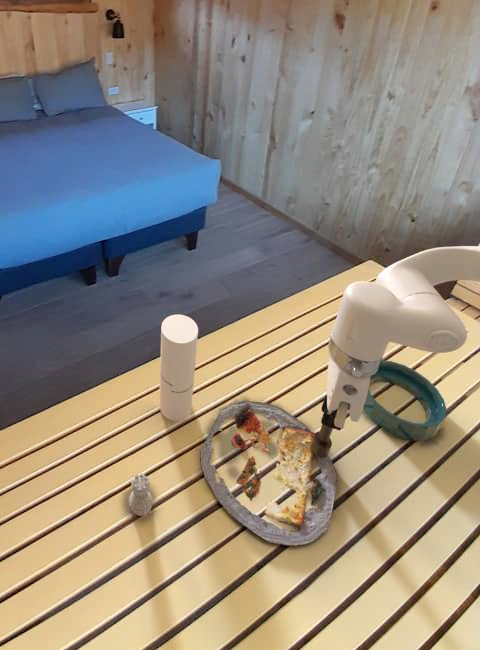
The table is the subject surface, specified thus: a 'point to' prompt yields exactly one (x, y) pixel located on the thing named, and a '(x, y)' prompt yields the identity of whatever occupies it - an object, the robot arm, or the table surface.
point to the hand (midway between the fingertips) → (330, 419)
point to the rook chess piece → (140, 495)
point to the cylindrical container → (177, 366)
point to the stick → (322, 441)
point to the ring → (416, 387)
